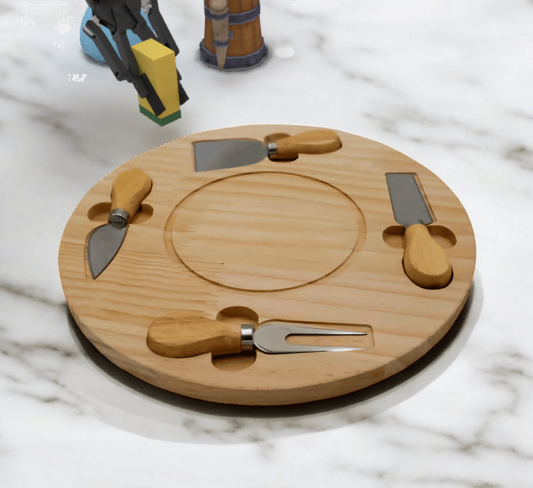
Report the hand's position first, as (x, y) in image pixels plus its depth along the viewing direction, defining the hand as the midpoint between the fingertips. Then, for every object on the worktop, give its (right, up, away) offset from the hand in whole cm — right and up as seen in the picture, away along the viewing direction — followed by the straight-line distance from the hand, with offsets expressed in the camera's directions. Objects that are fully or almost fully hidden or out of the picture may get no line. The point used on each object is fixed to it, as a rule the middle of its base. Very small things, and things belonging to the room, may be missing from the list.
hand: (172, 107), depth 105 cm
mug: (+8, +15, +27) cm, 32 cm away
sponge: (-3, 0, +4) cm, 5 cm away
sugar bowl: (-15, +18, +30) cm, 38 cm away
